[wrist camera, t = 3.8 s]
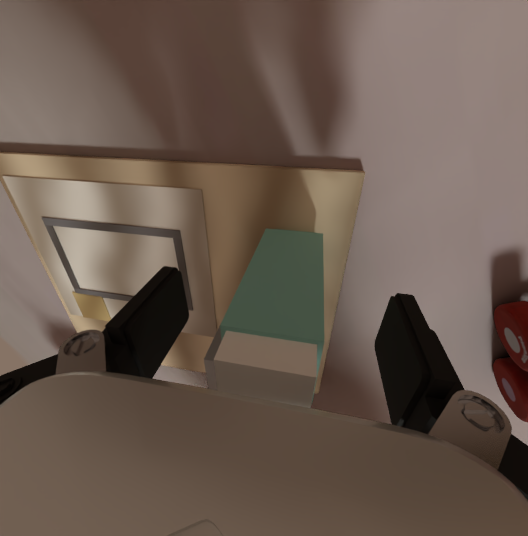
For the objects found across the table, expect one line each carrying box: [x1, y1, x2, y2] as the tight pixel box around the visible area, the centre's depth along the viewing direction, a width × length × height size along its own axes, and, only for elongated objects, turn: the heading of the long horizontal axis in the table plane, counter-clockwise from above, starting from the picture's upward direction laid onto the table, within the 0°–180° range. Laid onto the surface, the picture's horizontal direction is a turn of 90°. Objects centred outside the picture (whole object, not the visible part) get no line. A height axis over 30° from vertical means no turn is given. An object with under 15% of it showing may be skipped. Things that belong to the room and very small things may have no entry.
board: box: [0, 152, 365, 394], centre depth 21 cm, size 25×20×1 cm
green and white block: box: [214, 228, 324, 408], centre depth 13 cm, size 3×3×11 cm
